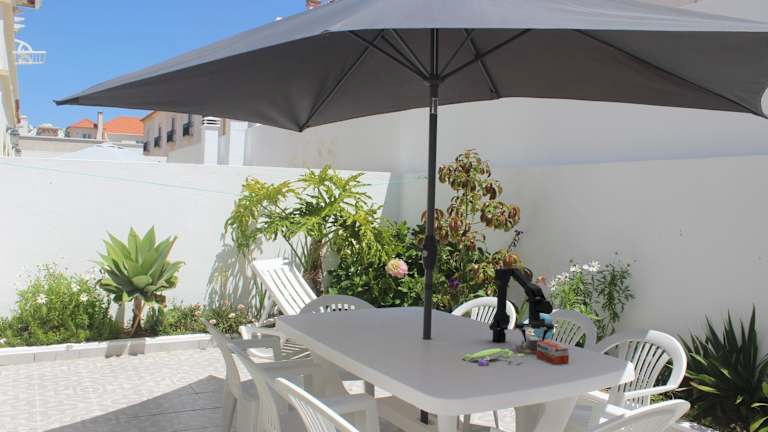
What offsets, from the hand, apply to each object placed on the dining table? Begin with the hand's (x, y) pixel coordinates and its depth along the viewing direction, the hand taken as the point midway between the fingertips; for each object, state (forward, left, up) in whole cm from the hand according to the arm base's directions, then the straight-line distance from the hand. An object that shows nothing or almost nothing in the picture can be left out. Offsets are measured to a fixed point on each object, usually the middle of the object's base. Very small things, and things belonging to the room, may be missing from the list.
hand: (534, 342), depth 337 cm
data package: (+10, +38, -4) cm, 40 cm away
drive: (0, 0, -3) cm, 3 cm away
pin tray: (0, 0, -4) cm, 4 cm away
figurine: (-22, -24, -5) cm, 33 cm away
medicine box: (+6, -20, -5) cm, 22 cm away
